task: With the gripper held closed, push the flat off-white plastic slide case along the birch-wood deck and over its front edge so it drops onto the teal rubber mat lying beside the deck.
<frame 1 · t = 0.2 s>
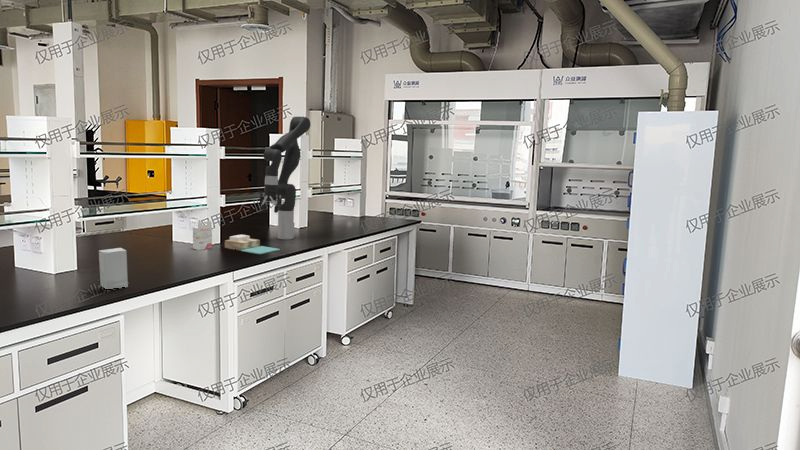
hand: (270, 211, 322), 17 cm above the countertop, tool pointing down, fingers open, 8 cm apart
ink cartridge box: (202, 248, 295), on the countertop
mat: (260, 250, 297), on the countertop
deck: (242, 247, 303), on the countertop
skincare box: (113, 288, 212), on the countertop
slide case: (239, 239, 303), point 4 cm above the countertop, touching deck
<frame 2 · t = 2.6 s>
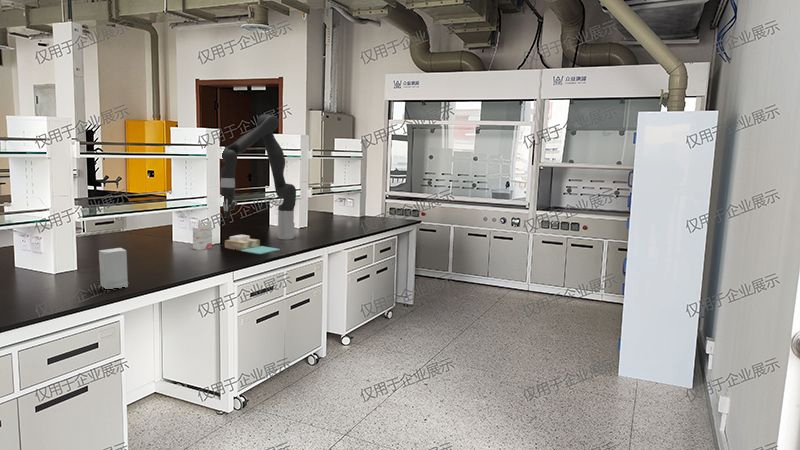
hand: (227, 217, 306), 15 cm above the countertop, tool pointing down, fingers closed
nothing on the countertop moved.
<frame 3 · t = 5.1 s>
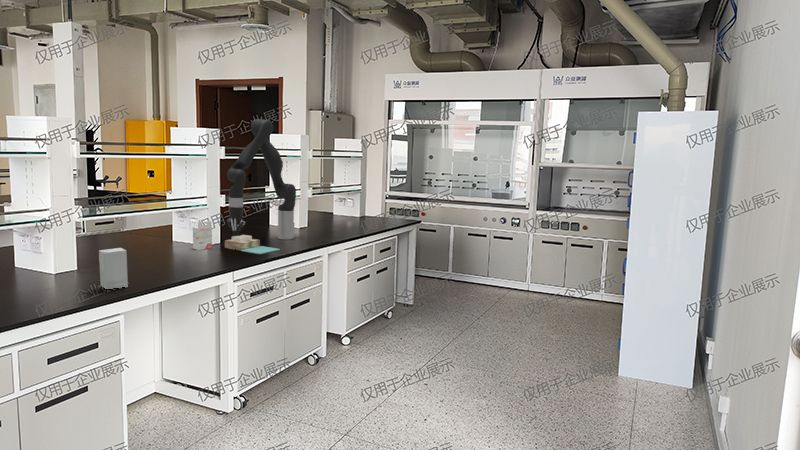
hand: (235, 237, 304), 5 cm above the countertop, tool pointing down, fingers closed
slide case: (241, 240, 303), point 4 cm above the countertop, touching gripper
everything else where it was.
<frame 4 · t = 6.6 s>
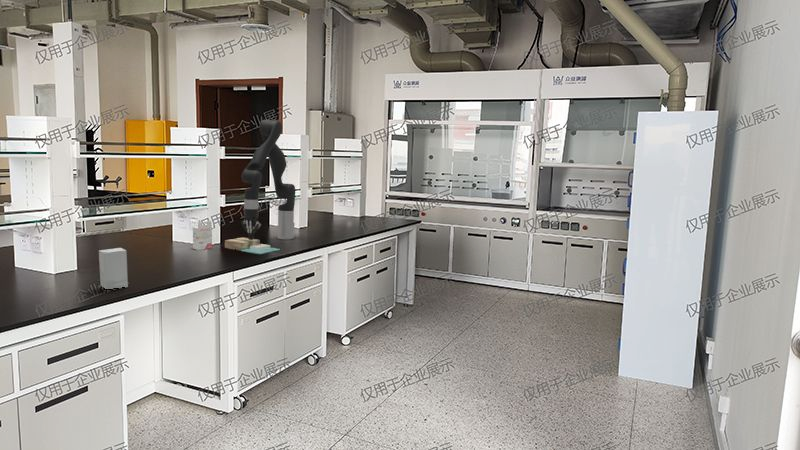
hand: (250, 239, 299), 5 cm above the countertop, tool pointing down, fingers closed
slide case: (260, 245, 297), point 2 cm above the countertop, tilted 180°, touching mat
everything else where it was.
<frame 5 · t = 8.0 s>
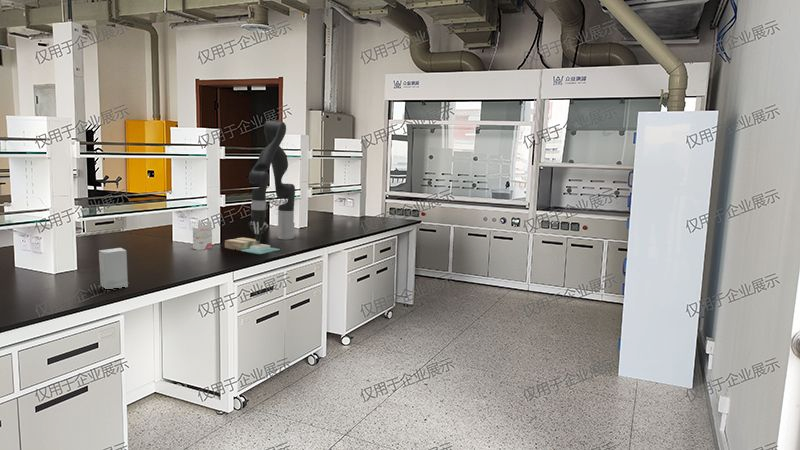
hand: (258, 240, 297), 5 cm above the countertop, tool pointing down, fingers closed
nothing on the countertop moved.
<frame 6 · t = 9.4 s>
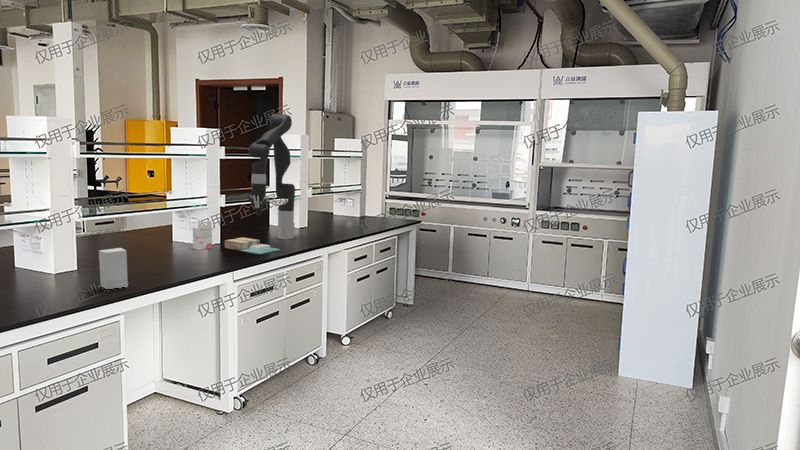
hand: (258, 215, 296), 19 cm above the countertop, tool pointing down, fingers closed
nothing on the countertop moved.
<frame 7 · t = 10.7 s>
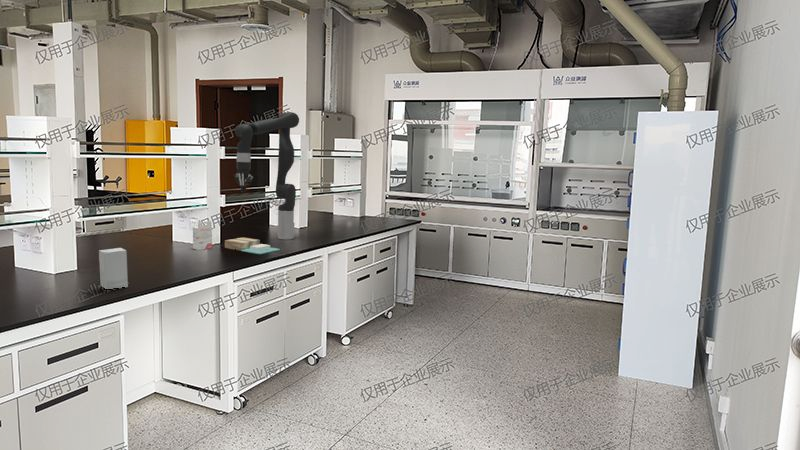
hand: (243, 192, 312), 29 cm above the countertop, tool pointing down, fingers closed
nothing on the countertop moved.
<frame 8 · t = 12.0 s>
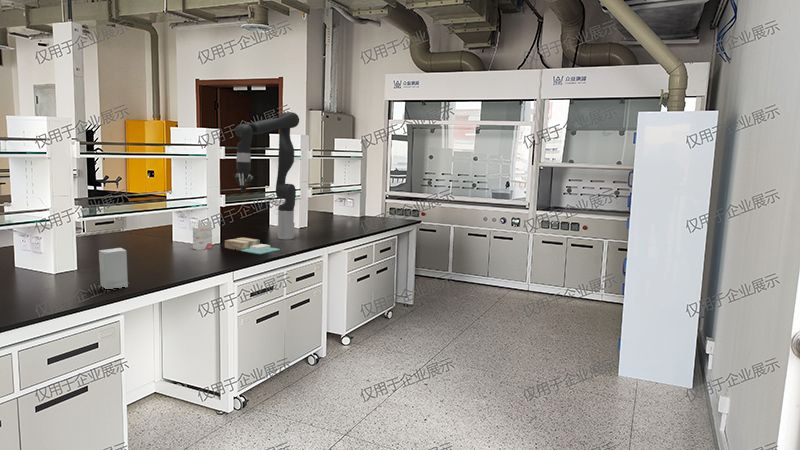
hand: (243, 192, 312), 29 cm above the countertop, tool pointing down, fingers closed
nothing on the countertop moved.
at the end: slide case inside the target area (1.1 cm from its centre), point 2.5 cm above the countertop; ink cartridge box moved 0.2 cm from its start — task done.
